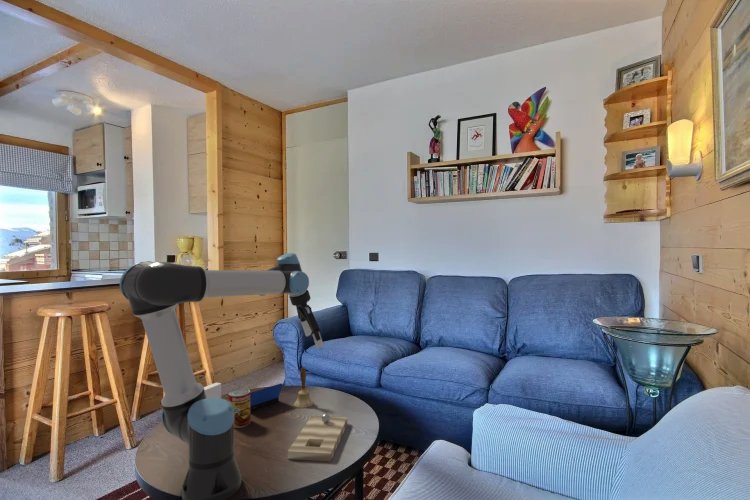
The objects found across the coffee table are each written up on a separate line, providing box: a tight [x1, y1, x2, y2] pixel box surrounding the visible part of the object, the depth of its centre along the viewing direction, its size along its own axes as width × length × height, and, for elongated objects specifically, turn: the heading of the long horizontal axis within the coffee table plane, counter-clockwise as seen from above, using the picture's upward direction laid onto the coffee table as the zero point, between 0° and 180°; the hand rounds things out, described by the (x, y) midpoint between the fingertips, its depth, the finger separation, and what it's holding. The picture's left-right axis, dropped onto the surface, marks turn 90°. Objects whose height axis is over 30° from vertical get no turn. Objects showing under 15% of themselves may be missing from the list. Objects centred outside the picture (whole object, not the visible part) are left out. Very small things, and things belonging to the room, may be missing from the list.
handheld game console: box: [250, 383, 283, 411], centre depth 165 cm, size 16×13×9 cm
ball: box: [321, 413, 331, 423], centre depth 141 cm, size 3×3×3 cm
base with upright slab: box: [203, 382, 223, 399], centre depth 155 cm, size 9×9×12 cm
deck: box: [287, 415, 348, 462], centre depth 133 cm, size 26×14×2 cm, turn 173°
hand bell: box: [293, 366, 314, 409], centre depth 165 cm, size 8×8×16 cm
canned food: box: [228, 388, 252, 429], centre depth 148 cm, size 8×8×12 cm
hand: (314, 340), depth 153 cm, fingers open, 13 cm apart
